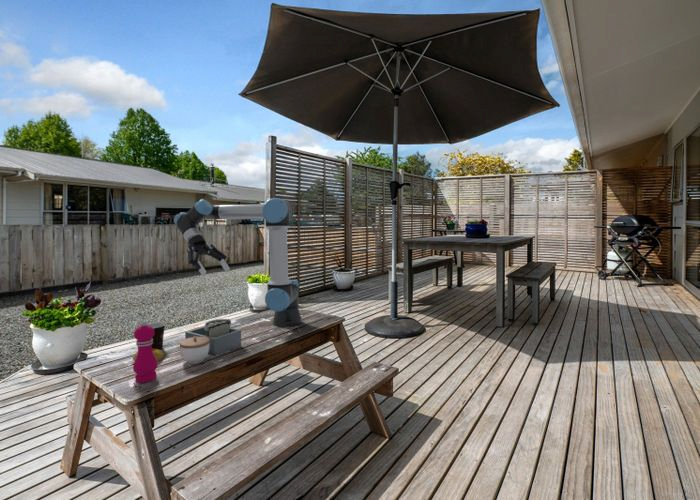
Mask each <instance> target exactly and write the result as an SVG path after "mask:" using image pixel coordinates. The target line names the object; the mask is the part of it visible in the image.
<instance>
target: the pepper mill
mask: <svg viewBox="0 0 700 500" xmlns="http://www.w3.org/2000/svg"><path fill="white" fill-rule="evenodd" d="M147 324H148V322H147V321H145V320H143V321H142V322H141V323H140V325H139V326H138V327H137V328H136V329H135V330H134V332H133V337H134V339H135V340H136V341H135V346H137V352H138V354H137V357H136V360H135V361H133V367H132V370H133V372H134V373H135V376H134V377H135V379H134V381H135V382H136V383H138V382H139V383H140V384H141V383H142V384H143V382H144V383H147V382H148V383H149V382H151V381H154V380H155V379H156V378H157V371H156V370H157V368H158V367H159V366H158V362H157V360H156V358H155V356H154V354H153V351H152V344H153V339H152V337H153V336H154V329H153V328H152V327H151V326H148V325H147Z"/></svg>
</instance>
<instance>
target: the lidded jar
mask: <svg viewBox="0 0 700 500" xmlns="http://www.w3.org/2000/svg"><path fill="white" fill-rule="evenodd" d="M209 348H210V339H209V338H207V337H196V336H194V337H191V338H187V339H185V338H184V339H182V340H181V341H179V350H180V355H181V357H182V359H184V361H186V363H187V364H199V363H201V362H203V361H205V359H206V358H207V356H208V353H209Z"/></svg>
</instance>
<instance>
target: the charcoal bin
mask: <svg viewBox="0 0 700 500" xmlns="http://www.w3.org/2000/svg"><path fill="white" fill-rule="evenodd" d="M204 327H205V325H204V326H201V327H198V328H194V329H191V330H187V331H185V333H184V334H185V338H184V339H187V338H191V337H194V336H196V337H207V338H209V339H210V348H209V353H208V355H209V356H213V357H216V356H220V355H221V354H224V353H227V352H230V351H232V350H234V349H237V348H240V347H242V329H237V328H232V327H230V333H228V334H225V335H222V336H219V337H216V338H213V337H209V336H207V335H206V330H204ZM208 355H207V356H208Z"/></svg>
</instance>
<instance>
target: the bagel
mask: <svg viewBox="0 0 700 500" xmlns="http://www.w3.org/2000/svg"><path fill="white" fill-rule="evenodd" d="M152 351H153V354H154V356H155V358H156V360H157V363H158V362H160V361H161V360H163V358H164V357H165V353H164V352H163V350H162V349H161V350H158V349H153V348H152ZM137 354H138V351H136V352H135V353H134V355H133V357H132V360H133V362H135V360H136V357H137Z"/></svg>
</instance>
